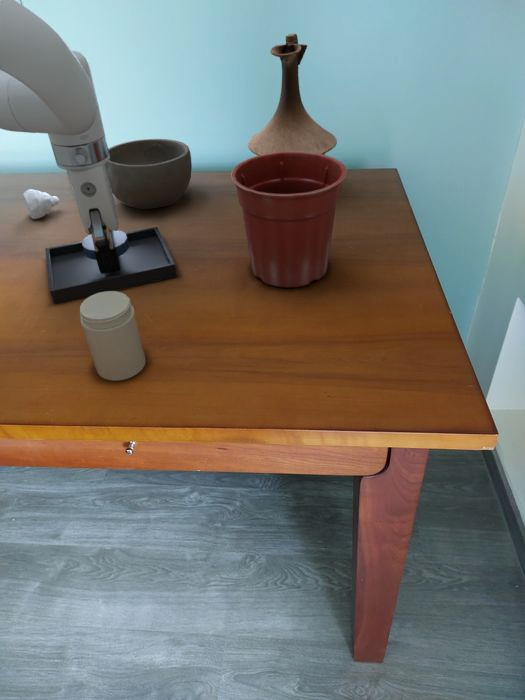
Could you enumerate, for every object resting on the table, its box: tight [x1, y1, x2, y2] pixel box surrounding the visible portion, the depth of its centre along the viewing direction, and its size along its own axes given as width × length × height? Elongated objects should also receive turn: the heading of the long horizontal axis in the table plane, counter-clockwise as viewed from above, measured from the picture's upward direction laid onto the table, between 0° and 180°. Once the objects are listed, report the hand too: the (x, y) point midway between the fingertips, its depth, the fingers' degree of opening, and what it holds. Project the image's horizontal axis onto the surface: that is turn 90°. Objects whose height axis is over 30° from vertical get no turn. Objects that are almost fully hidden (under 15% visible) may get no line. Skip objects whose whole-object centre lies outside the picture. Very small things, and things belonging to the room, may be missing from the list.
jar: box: [79, 290, 147, 382], centre depth 66 cm, size 6×6×10 cm
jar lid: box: [82, 229, 129, 260], centre depth 85 cm, size 7×7×2 cm
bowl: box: [105, 138, 193, 210], centre depth 105 cm, size 17×18×10 cm
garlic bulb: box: [22, 188, 60, 220], centre depth 102 cm, size 6×6×5 cm
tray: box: [44, 226, 178, 305], centre depth 87 cm, size 19×14×2 cm
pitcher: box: [247, 33, 338, 156], centre depth 99 cm, size 18×17×28 cm
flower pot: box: [230, 151, 347, 289], centre depth 80 cm, size 16×16×16 cm
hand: (109, 258), depth 86 cm, fingers closed on jar lid, 7 cm apart
